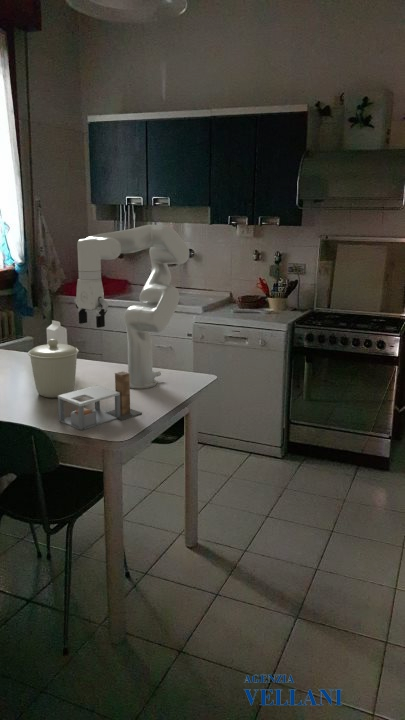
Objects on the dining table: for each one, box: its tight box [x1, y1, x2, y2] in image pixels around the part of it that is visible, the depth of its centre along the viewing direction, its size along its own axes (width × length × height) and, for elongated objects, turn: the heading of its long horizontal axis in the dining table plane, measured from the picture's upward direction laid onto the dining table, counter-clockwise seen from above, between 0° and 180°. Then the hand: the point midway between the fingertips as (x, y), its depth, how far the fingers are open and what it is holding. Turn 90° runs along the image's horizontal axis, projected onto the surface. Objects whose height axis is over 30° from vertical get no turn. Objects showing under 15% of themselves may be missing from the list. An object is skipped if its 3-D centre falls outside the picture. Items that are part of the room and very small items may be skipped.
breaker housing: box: [57, 384, 120, 431], centre depth 192 cm, size 16×12×9 cm
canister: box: [27, 339, 80, 399], centre depth 217 cm, size 18×18×21 cm
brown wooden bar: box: [114, 370, 131, 415], centre depth 197 cm, size 3×3×14 cm
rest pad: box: [107, 408, 143, 421], centre depth 199 cm, size 9×9×1 cm
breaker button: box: [75, 407, 91, 415], centre depth 189 cm, size 3×3×4 cm
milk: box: [46, 319, 68, 345], centre depth 245 cm, size 6×6×22 cm
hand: (91, 325), depth 203 cm, fingers open, 9 cm apart
